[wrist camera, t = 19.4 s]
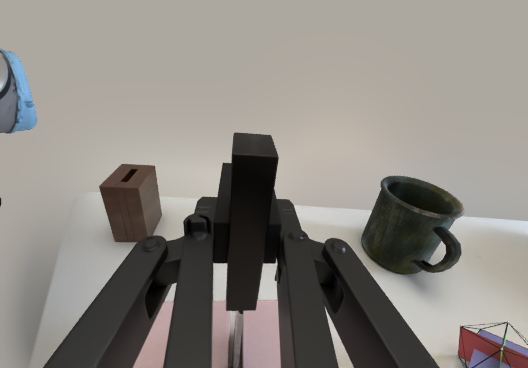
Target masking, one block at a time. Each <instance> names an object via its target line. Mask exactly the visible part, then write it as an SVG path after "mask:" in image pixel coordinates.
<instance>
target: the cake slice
mask: <svg viewBox="0 0 528 368" xmlns="http://www.w3.org/2000/svg"><path fill="white" fill-rule="evenodd" d="M239 368H281V359H280V338H279V317H278V300H257V307H256V310H255V311H243V324H242V333H241V343H240V365H239Z"/></svg>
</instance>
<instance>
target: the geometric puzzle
mask: <svg viewBox="0 0 528 368" xmlns="http://www.w3.org/2000/svg"><path fill="white" fill-rule="evenodd" d="M505 323H507V325H506V330H505V334H504V338H501V337H498V336H496V335H494V334H491V333H489V332H487V331H484V330H482V329H480V330H479V331H478V333H479V332H480V333H479V334H478V333H474V332H472V331H470V330H468V329H465V328H463V326H460V337H459V350H458V355H457V356H458V357H459V358H460V357H461V358H463V359H465V363H464V362H463V361H461V362H463V363H464V364H466V360H467V361H469V362H470V363H469V366H468V367H467V366H466V368H528V349H526V348H524V347H522V346H519V345H517V344H515V343H512V342H510V341H508V340H506V332H507V326H508V323H509V322H508V321H507V322H504V323H502V324H505ZM492 324H496V323H492ZM481 325H484V324H481ZM498 325H501V324H498ZM509 325H510V324H509ZM469 326H473V325H469ZM494 326H497V325H494ZM510 326H511V325H510ZM490 327H493V326H490ZM511 327H512V326H511ZM466 328H470V327H466ZM487 328H489V327H487ZM512 328H513V329H514V330H516V329H515V328H514V327H512ZM473 329H477V328H473ZM483 329H485V328H483ZM516 331H517V330H516ZM517 332H518V331H517ZM518 333H519V332H518ZM518 335H519V334H518ZM519 336H520V335H519ZM520 337H521V336H520ZM521 338H522V337H521ZM522 339H523V338H522ZM523 340H524V339H523ZM526 344H527V343H526ZM527 345H528V344H527ZM461 358H460V359H461ZM463 363H462V364H463ZM463 366H464V365H463Z"/></svg>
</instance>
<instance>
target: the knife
mask: <svg viewBox="0 0 528 368" xmlns="http://www.w3.org/2000/svg"><path fill="white" fill-rule="evenodd" d="M278 159H279V158H278V154H277V151H276V148H275V145H274V142H273V139H272V137H271V135H261V134H248V133H234V136H233V148H232V164H231V189H230V214H229V239H228V264H227V289H226V311H236V316H235V329H234V342H233V355H232V368H238V362H239V352H240V343H241V333H242V324H243V311H255V310H256V307H257V300H258V293H259V287H260V280H261V273H262V267H263V260H264V253H265V246H266V240H267V233H268V226H269V219H270V213H271V206H272V199H273V192H274V186H275V179H276V172H277V165H278Z"/></svg>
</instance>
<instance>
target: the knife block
mask: <svg viewBox="0 0 528 368" xmlns="http://www.w3.org/2000/svg"><path fill="white" fill-rule="evenodd" d="M99 187H100V191H101V195H102V198H103V202H104V205H105V209H106V212H107V216H108V219H109V222H110V226H111V229H112V233H113V236H114V240H115V242H139V241H140V240H141V239H143V238H145V237H149V236H152V234H153V232H154V230H155V228H156V226H157V224H158V222H159V220H160V218H161V215H162V213H161V206H160V199H159V192H158V185H157V178H156V171H155V166H150V165H131V164H122V165H121V166H119V167H118V168H117V169H116V170H115V171H114V172H113V173H112V174H111V175H110V176H109V177H108V178H107V179H106V180H105V181H104V182H103V183H102V184H101V185H100V186H99Z"/></svg>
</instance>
